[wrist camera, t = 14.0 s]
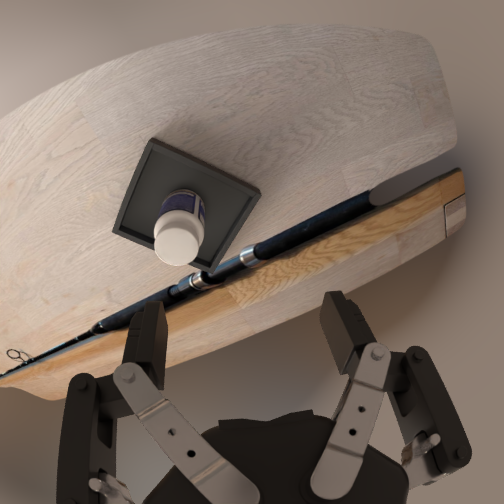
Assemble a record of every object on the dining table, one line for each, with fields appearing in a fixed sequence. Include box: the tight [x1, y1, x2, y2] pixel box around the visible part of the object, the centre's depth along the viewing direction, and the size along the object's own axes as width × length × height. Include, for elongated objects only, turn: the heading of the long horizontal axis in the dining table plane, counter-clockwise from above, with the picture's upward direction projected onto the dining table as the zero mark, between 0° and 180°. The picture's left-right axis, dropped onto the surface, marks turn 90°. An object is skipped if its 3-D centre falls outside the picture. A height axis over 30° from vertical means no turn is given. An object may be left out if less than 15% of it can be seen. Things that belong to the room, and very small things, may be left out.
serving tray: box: [112, 138, 261, 274], centre depth 37 cm, size 16×14×2 cm
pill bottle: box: [154, 189, 205, 266], centre depth 33 cm, size 6×6×10 cm
